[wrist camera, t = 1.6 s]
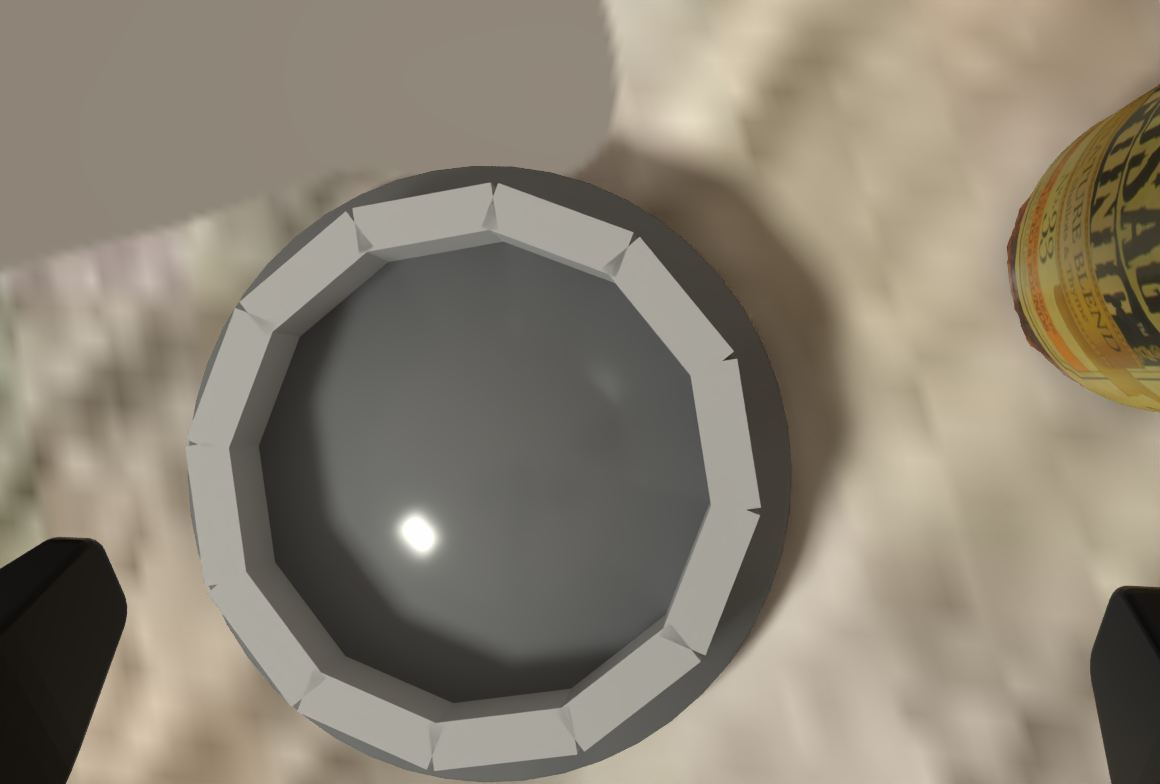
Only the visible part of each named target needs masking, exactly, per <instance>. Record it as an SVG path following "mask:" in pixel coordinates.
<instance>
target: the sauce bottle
mask: <svg viewBox="0 0 1160 784" xmlns="http://www.w3.org/2000/svg"><path fill="white" fill-rule="evenodd" d="M1007 253H1008V261H1007V264H1008V272H1009V281H1010V286H1011V294H1012V297H1013V301H1014V307H1015V310H1016V312H1017V313H1018V315H1019V318H1020V323H1021V327H1022V329H1023V331H1024V333H1025V336H1026V339H1027V341H1028V342H1029V344H1030V345H1031V346H1032V347H1034V348H1036V350H1038V351H1039V352H1041V353H1042V354H1043V355H1044V356H1045V358H1046V359H1048V360H1049V361H1050V362H1051V363H1052V364H1053V365H1054V366H1056V367H1057V368H1058V369H1059V370H1060V371H1061V372H1062V373H1063V374H1064V375H1065V376H1067V377H1069V378H1070V379H1072V380H1074V381H1076V382H1078V383H1079V384H1080V385H1081V386H1084V387H1086V388H1087V389H1089V390H1090V391H1092V392H1095V393H1097V394H1099V395H1101V396H1103V397H1105V398H1107V399H1110V400H1113V401H1116V402H1118V403H1121V404H1124V405H1128V406H1131V407H1135V408H1138V409H1143V410H1149V411H1155V412H1160V85H1158V86H1157V87H1155V88H1154V89H1152V90H1151V91H1149V92H1147V93H1146V94H1144V95H1143V96H1141V97H1139V98H1138V99H1136V100H1135V101H1133V102H1132V103H1130V104H1128V105H1127V106H1125V107H1124V108H1122V109H1121V110H1119V111H1118V112H1116V113H1115V114H1113V115H1112V116H1110V117H1108V118H1106V119H1105V120H1103V121H1101V122H1099V123H1098V124H1096V125H1094V126H1093V127H1091V128H1090V129H1089V130H1088V131H1086V132H1085V133H1084V134H1082V135H1081V136H1080V137H1079V138H1077V139H1076V140H1075V141H1074V142H1073V143H1072V144H1071V145H1070V146H1069V147H1067V148H1066V149H1065V150H1064V151H1063V152H1062V153H1061V154H1060V155H1059V156H1058V157H1057V159H1056V160H1055V161H1054V162H1053V163H1052V165H1051V166H1050V167H1049V168H1048V170H1047V171H1046V173H1045V174H1044V175H1043V177H1042V178H1041V179H1040V181H1039V183H1038V185H1037V186H1036V188H1035V190H1034V191H1033V192H1032V194H1031V195H1030V197H1029V198H1028V200H1027V201H1026V202H1025V203H1024V204H1023V205H1022V207H1021V208H1020V210H1019V214H1018V217H1017V220H1016V223H1015V228H1014V229H1013V232H1012V236H1011V238H1010V239H1009V242H1008V245H1007Z"/></svg>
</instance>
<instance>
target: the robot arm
mask: <svg viewBox="0 0 1160 784" xmlns="http://www.w3.org/2000/svg"><path fill="white" fill-rule="evenodd" d="M126 617H127V603H126V598H125V595H124V593H123V590H122V588H121V586H120V584H119V581H118V579H117V577H116V575H115V572H114V570H113V568H112V565H111V563H110V561H109V559H108V556H107V554H106V552H105V550H104V548H103V546H102V545H101V544H100V543H98V542H97V541H96V540H94V539H91V538H73V537H55V538H51V539H48V540H46V541H44V542H43V543H41V544H39V545H38V546H36V547H35V548H33V549H31V550H30V551H28V552H27V553H25V554H23V555H22V556H20V557H19V558H17V559H15V560H14V561H12V562H10V563H9V564H7V565H6V566H4V567H2V568H1V569H0V784H66V782H67V780H68V778H69V775H70V773H71V771H72V768H73V766H74V763H75V761H76V758H77V756H78V753H79V751H80V748H81V745H82V743H83V740H84V737H85V734H86V732H87V729H88V726H89V723H90V720H91V718H92V715H93V712H94V709H95V707H96V704H97V701H98V698H99V696H100V693H101V690H102V687H103V684H104V682H105V679H106V676H107V673H108V671H109V668H110V665H111V662H112V660H113V657H114V654H115V651H116V648H117V646H118V643H119V640H120V637H121V635H122V632H123V629H124V626H125V622H126ZM1090 675H1091V682H1092V687H1093V692H1094V697H1095V702H1096V708H1097V713H1098V718H1099V723H1100V728H1101V733H1102V738H1103V743H1104V749H1105V754H1106V759H1107V764H1108V769H1109V774H1110V779H1111V784H1160V587H1143V586H1122V587H1119V588H1117V589H1116V590H1115V591H1114V592H1113V594H1112V596H1111V598H1110V600H1109V603H1108V606H1107V608H1106V611H1105V614H1104V617H1103V620H1102V623H1101V625H1100V628H1099V631H1098V634H1097V637H1096V640H1095V642H1094V645H1093V648H1092V652H1091V658H1090Z"/></svg>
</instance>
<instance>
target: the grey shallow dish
mask: <svg viewBox="0 0 1160 784" xmlns="http://www.w3.org/2000/svg"><path fill="white" fill-rule="evenodd" d="M186 439H187V440H189V441H190V445H189V446H186V447H185V449H186V456H187V463H188V483H189V497H190V510H191V518H192V523H193V528H194V533H195V538H196V543H197V548H198V553H199V556H200V559H201V565H202V572H203V579H204V586H210V589H211V591H209V592H208V593H207V594H208V595H209V596H210V598H211V599H212V600H213V602H214V603H215V604H216V606H217V607H218V608H219V610H220V611H221V613H222V615H223V617H224V619H225V621H226V623H227V625H228V627H229V628H230V630H231V631H232V633H233V634H234V636H235V638H236V639H237V641H238V642H239V644H240V645H241V647H242V648H243V650H244V652H245V653H246V655H247V656H248V658H249V659H250V660H251V662H252V663H253V664H254V665H255V666H256V667H257V669H258V670H259V671H260V672H261V673H262V675H263V676H264V677H265V678H266V679H267V681H268V682H269V683H270V684H271V685H272V687H273V688H274V689H275V690H276V691H277V692H278V693H280V694H281V695H282V696H283V697H284V698H285V699H286V701H287V702H288V703H289V705H290V706H291V707H292V706H294V707H295V708H296V709H297V710H298V711H297V712H298V713H301V714H302V715H304V716H305V717H306V718H308V719H309V720H311V721H312V722H313V723H315V724H316V725H318V726H319V727H320V728H322V729H323V730H325V731H326V732H328V733H329V734H330V735H332V736H333V737H335V738H336V739H338V740H340V741H342V742H344V743H346V744H348V745H350V746H351V747H353V748H355V749H357V750H359V751H361V752H363V753H365V754H367V755H368V756H371V757H373V758H376V759H379V760H381V761H384V762H387V763H390V764H392V765H395V766H398V767H400V768H403V769H406V770H410V771H414V772H418V773H423V774H427V775H432V776H436V777H440V778H445V779H455V780H466V781H477V782H499V781H521V780H529V779H535V778H540V777H546V776H551V775H557V774H562V773H566V772H569V771H572V770H575V769H578V768H581V767H584V766H587V765H590V764H593V763H596V762H599V761H602V760H604V759H606V758H609V757H611V756H613V755H615V754H617V753H619V752H621V751H623V750H625V749H627V748H629V747H631V746H633V745H635V744H637V743H639V742H641V741H642V740H644V739H645V738H647V737H648V736H650V735H651V734H653V733H654V732H656V731H657V730H659V729H660V728H662V727H663V726H665V725H666V724H668V723H669V722H671V721H672V720H673V719H674V718H675V717H677V716H678V715H679V714H680V713H681V712H682V711H683V710H685V709H686V708H687V707H688V706H689V705H690V704H691V703H692V702H694V701H695V700H696V699H697V698H698V697H699V696H700V695H702V694H703V693H704V691H705V690H706V689H707V688H708V687H709V686H710V684H711V683H712V682H713V681H714V680H715V679H716V677H717V676H718V675H719V674H720V673H721V672H722V670H723V669H724V668H725V667H726V666H727V665H728V663H729V662H730V661H731V659H732V658H733V656H734V655H735V653H736V652H737V650H738V649H739V647H740V645H741V644H742V642H743V641H744V639H745V638H746V636H747V635H748V633H749V632H750V630H751V628H752V627H753V625H754V623H755V620H756V618H757V616H758V614H759V612H760V610H761V608H762V606H763V603H764V601H765V599H766V597H767V595H768V593H769V591H770V588H771V585H772V582H773V578H774V575H775V572H776V569H777V566H778V563H779V560H780V556H781V553H782V550H783V544H784V539H785V533H786V527H787V521H788V516H789V510H790V488H791V458H790V448H789V437H788V426H787V421H786V417H785V413H784V408H783V404H782V400H781V395H780V391H779V387H778V383H777V381H776V378H775V375H774V373H773V370H772V367H771V365H770V362H769V359H768V357H767V354H766V351H765V349H764V346H763V344H762V342H761V340H760V338H759V337H758V335H757V333H756V331H755V329H754V327H753V325H752V324H751V322H750V320H749V318H748V316H747V314H746V312H745V310H744V309H743V307H742V306H741V305H740V303H739V302H738V300H737V299H736V298H735V296H734V295H733V293H732V292H731V291H730V289H729V288H728V287H727V285H726V284H725V282H724V281H723V280H722V278H721V277H720V276H719V274H718V273H717V272H716V271H715V270H714V269H713V268H712V267H711V266H710V265H709V264H708V263H707V262H706V261H705V260H704V259H703V258H702V256H701V255H700V254H699V253H698V252H697V251H696V250H695V249H694V248H693V247H692V246H691V245H690V244H688V243H687V242H686V241H685V240H684V239H682V238H681V237H680V236H679V235H677V234H676V233H675V232H674V231H672V230H671V229H670V228H669V227H667V226H666V225H665V224H664V223H663V222H661V221H660V220H658V219H657V218H655V217H653V216H652V215H650V214H649V213H647V212H645V211H644V210H642V209H640V208H639V207H637V206H635V205H634V204H632V203H630V202H629V201H627V200H626V199H623V198H621V197H619V196H616V195H614V194H612V193H610V192H607V191H605V190H603V189H600V188H598V187H596V186H594V185H591V184H589V183H586V182H582V181H579V180H575V179H572V178H568V177H565V176H561V175H558V174H554V173H550V172H544V171H536V170H531V169H524V168H517V167H496V166H495V167H494V166H490V167H489V166H470V167H462V168H453V169H445V170H437V171H431V172H427V173H423V174H419V175H415V176H412V177H408V178H404V179H400V180H396V181H394V182H391V183H389V184H386V185H384V186H381V187H379V188H376V189H374V190H371V191H369V192H366V193H364V194H361V195H359V196H357V197H356V198H354V199H352V200H350V201H348V202H347V203H345V204H343V205H341V206H340V207H338V208H336V209H334V210H333V211H331V212H329V213H327V214H326V215H324V216H323V217H322V218H320V219H319V220H318V221H316V222H315V223H314V224H312V225H311V226H310V227H308V228H307V229H306V230H304V231H303V232H302V233H300V234H299V235H298V236H296V237H295V238H294V239H293V240H292V241H291V242H290V243H289V244H288V245H287V246H286V247H285V248H284V249H283V250H282V251H281V252H280V253H279V254H278V255H277V256H275V257H274V258H273V259H272V260H271V261H270V262H269V263H268V264H267V266H266V267H265V268H264V269H263V271H262V272H261V273H260V274H259V276H258V277H257V278H256V279H255V281H254V282H253V283H252V284H251V286H250V287H249V288H248V289H247V291H246V292H245V293H244V295H243V296H242V298H241V299H240V301H239V303H238V304H237V306H236V308H235V309H234V311H233V313H232V314H231V316H230V318H229V319H228V321H227V322H226V324H225V326H224V327H223V330H222V332H221V334H220V336H219V339H218V341H217V343H216V345H215V348H214V350H213V352H212V354H211V357H210V359H209V361H208V364H207V367H206V370H205V373H204V377H203V380H202V383H201V386H200V390H199V393H198V396H197V400H196V405H195V411H194V417H193V422H192V425H191V427H190V430H189V433H188V435H187V438H186Z"/></svg>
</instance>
